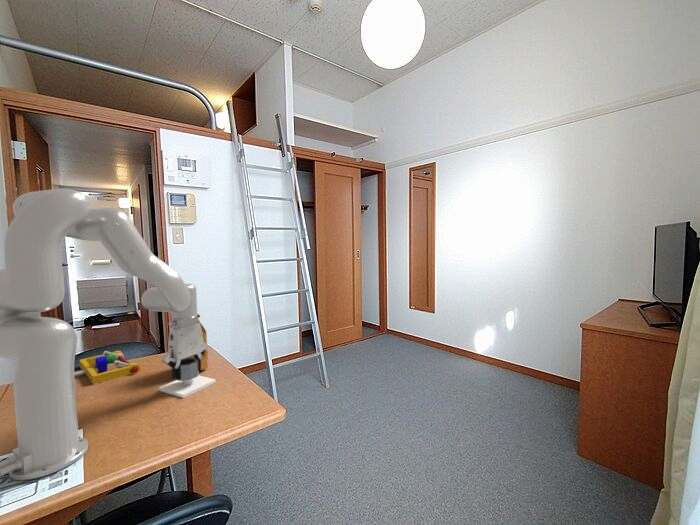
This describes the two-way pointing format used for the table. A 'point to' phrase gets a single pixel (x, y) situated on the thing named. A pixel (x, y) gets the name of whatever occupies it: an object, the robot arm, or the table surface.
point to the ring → (189, 369)
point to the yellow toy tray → (100, 364)
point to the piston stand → (186, 386)
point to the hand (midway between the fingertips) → (187, 374)
